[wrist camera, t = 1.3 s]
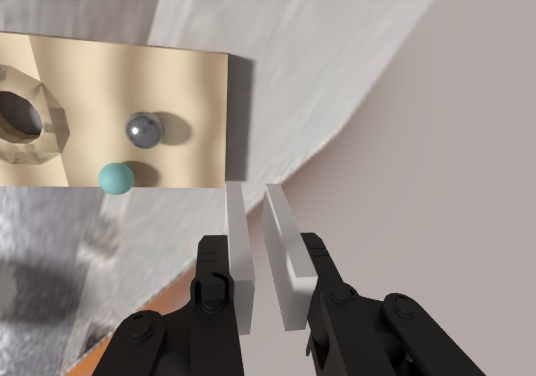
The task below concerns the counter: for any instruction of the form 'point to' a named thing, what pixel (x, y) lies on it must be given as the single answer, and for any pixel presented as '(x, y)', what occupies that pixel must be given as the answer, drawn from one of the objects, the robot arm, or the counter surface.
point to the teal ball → (116, 178)
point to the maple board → (112, 111)
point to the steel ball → (144, 130)
